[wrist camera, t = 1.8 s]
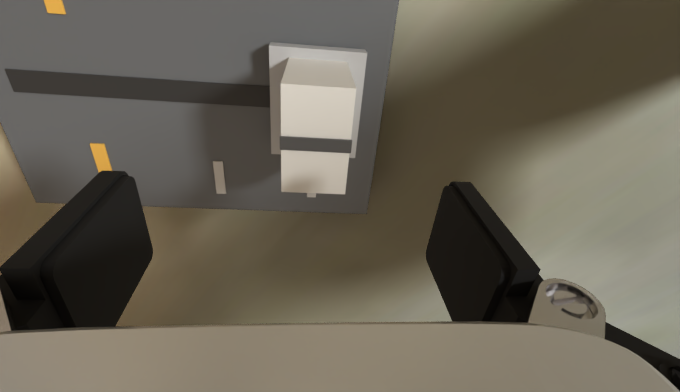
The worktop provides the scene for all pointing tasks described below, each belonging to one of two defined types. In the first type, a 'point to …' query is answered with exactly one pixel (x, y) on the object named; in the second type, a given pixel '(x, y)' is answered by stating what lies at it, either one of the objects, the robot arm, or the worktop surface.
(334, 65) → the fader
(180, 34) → the console
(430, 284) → the worktop surface
